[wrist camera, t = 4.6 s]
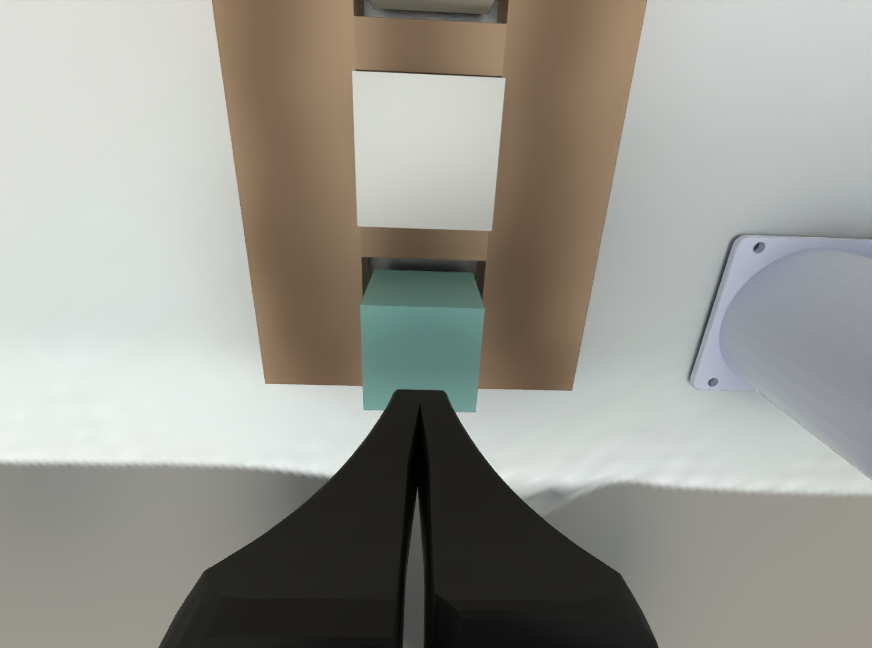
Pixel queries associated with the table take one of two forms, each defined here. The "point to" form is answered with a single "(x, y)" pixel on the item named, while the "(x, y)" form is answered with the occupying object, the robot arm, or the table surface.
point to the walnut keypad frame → (353, 245)
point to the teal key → (421, 336)
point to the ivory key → (436, 5)
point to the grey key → (426, 149)
